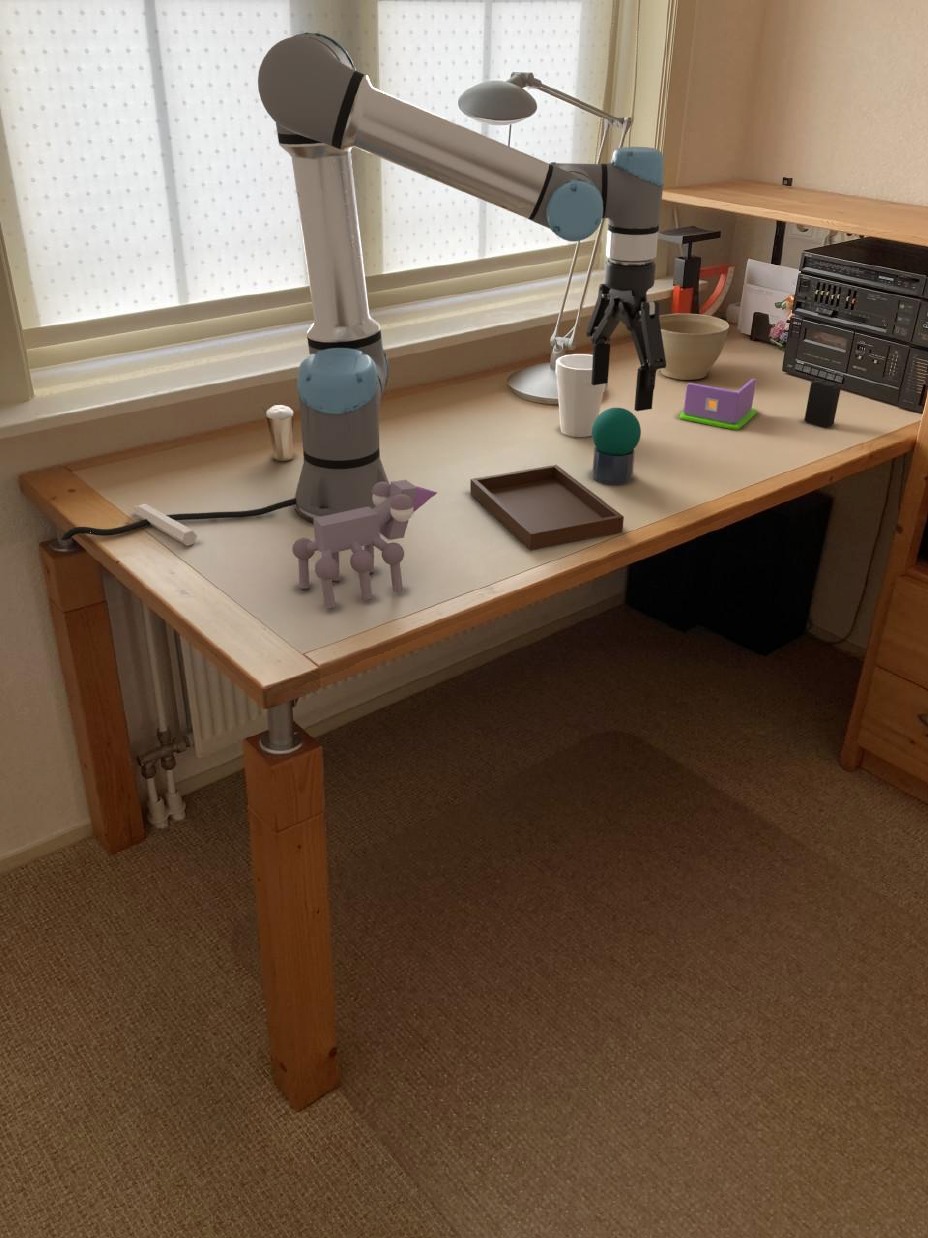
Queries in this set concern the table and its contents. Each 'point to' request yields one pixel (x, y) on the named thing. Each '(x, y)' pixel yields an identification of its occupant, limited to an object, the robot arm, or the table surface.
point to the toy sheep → (361, 537)
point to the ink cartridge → (822, 403)
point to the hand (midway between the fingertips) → (620, 396)
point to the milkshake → (281, 431)
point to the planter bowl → (691, 344)
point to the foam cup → (577, 394)
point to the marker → (166, 524)
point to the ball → (616, 431)
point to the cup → (613, 467)
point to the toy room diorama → (719, 405)
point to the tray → (545, 506)
